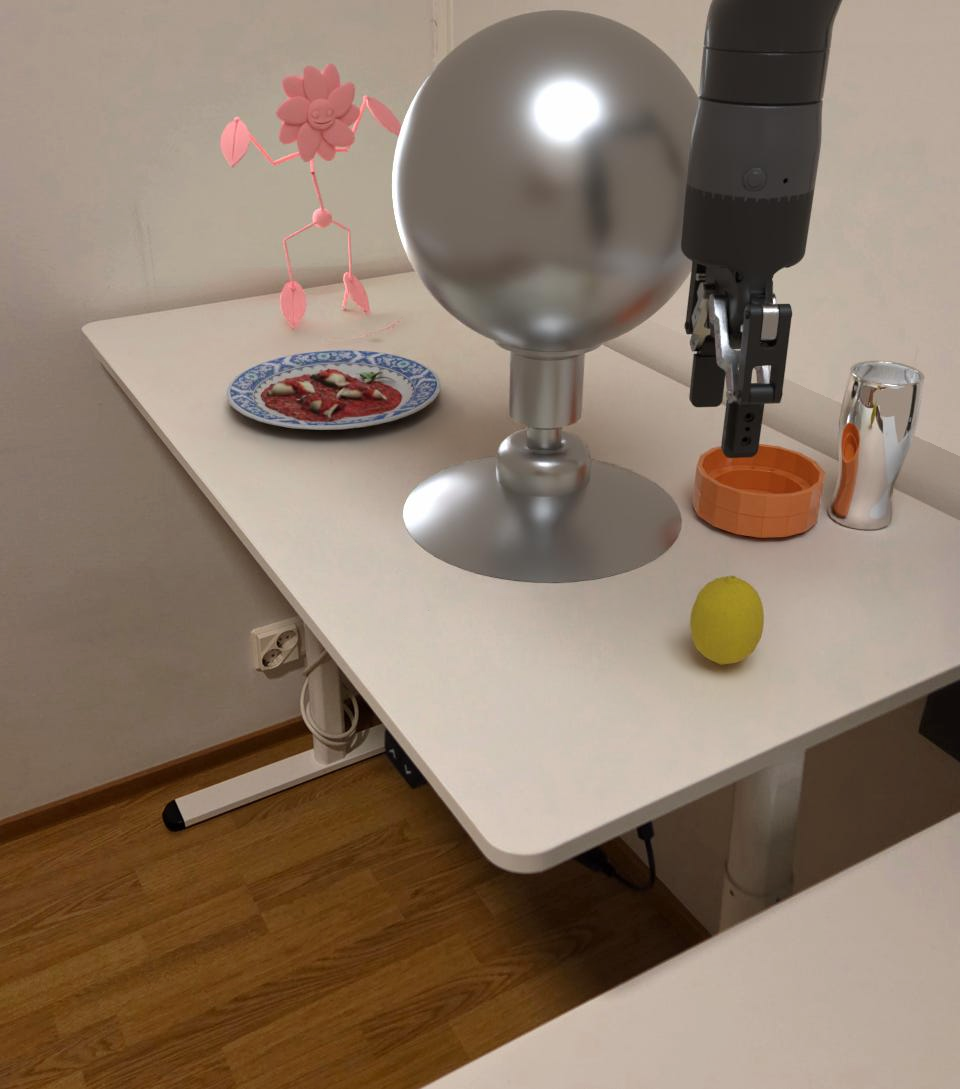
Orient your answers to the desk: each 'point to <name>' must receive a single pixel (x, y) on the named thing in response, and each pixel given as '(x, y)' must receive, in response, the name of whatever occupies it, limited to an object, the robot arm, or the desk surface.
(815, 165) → the robot arm
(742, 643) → the lemon
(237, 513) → the desk surface
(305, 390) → the ceramic plate
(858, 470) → the beer glass
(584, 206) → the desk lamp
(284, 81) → the figurine
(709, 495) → the bowl
